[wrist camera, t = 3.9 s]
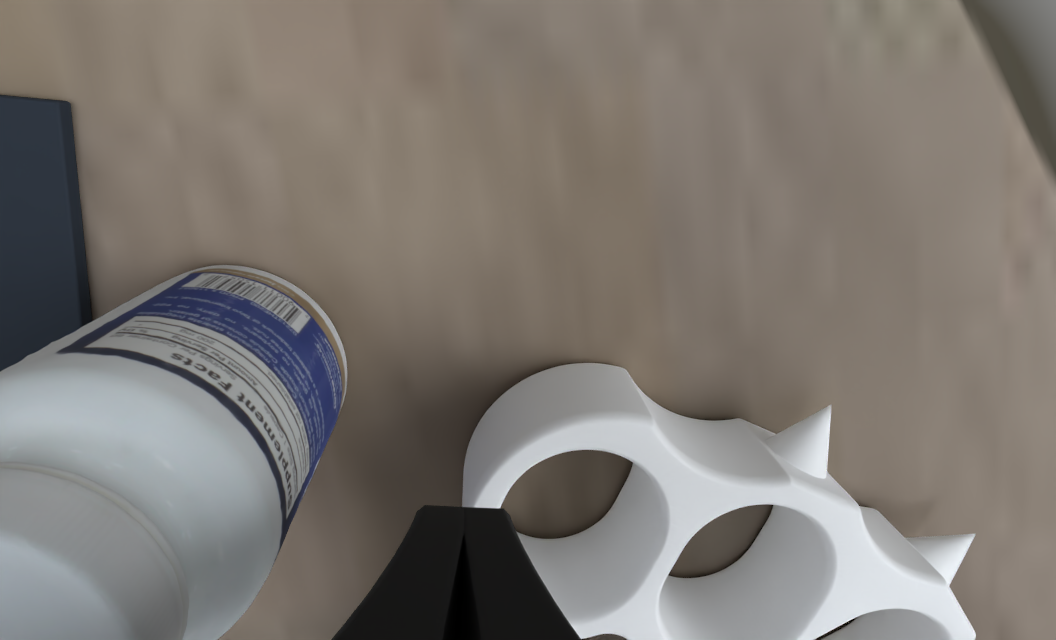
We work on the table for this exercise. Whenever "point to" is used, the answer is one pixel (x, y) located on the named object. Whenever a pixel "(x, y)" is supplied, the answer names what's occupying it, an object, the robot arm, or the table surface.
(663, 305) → the table surface
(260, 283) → the pill bottle
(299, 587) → the table surface
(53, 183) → the mat
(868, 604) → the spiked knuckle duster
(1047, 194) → the table surface
